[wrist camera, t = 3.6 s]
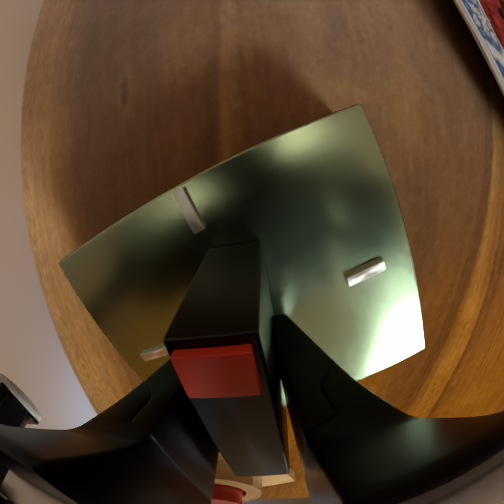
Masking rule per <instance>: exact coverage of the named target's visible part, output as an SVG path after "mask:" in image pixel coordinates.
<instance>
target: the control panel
mask: <svg viewBox="0 0 504 504" xmlns="http://www.w3.org/2000/svg"><path fill="white" fill-rule="evenodd" d="M254 241H260V242H261V244H262V250H263V256H264V262H265V267H266V273H267V279H268V285H269V291H270V296H271V302H272V308H273V314H274V315H279V314H286V315H287V316H288V317H289V318H290V319H291V320H292V321H293V322H294V323H295V324H296V325H297V326H298V327H299V328H300V329H301V330H303V331H304V332H305V333H306V334H307V335H308V336H309V337H310V338H311V339H312V340H313V341H314V342H315V343H316V344H317V345H318V346H319V347H320V348H321V349H322V350H323V351H324V352H325V353H326V354H327V355H328V356H330V357H331V358H332V359H333V360H334V361H335V362H336V364H338V365H339V366H340V367H341V368H342V369H343V370H344V371H345V372H347V373H348V374H349V375H350V376H351V377H352V378H354V379H355V380H356V381H358V380H360V379H363V378H365V377H367V376H370V375H372V374H374V373H376V372H379V371H381V370H383V369H385V368H387V367H389V366H392V365H394V364H396V363H398V362H400V361H402V360H404V359H406V358H408V357H410V356H412V355H413V354H415V353H417V352H419V351H421V350H423V349H424V348H425V337H424V327H423V318H422V310H421V303H420V296H419V289H418V283H417V278H416V272H415V267H414V262H413V257H412V253H411V248H410V244H409V240H408V235H407V231H406V227H405V224H404V220H403V216H402V213H401V209H400V206H399V202H398V199H397V196H396V192H395V189H394V186H393V183H392V180H391V177H390V174H389V171H388V168H387V165H386V163H385V160H384V157H383V155H382V152H381V149H380V147H379V144H378V142H377V139H376V137H375V134H374V132H373V130H372V127H371V125H370V123H369V120H368V118H367V116H366V114H365V111H364V109H363V107H362V105H361V104H356V105H353V106H350V107H347V108H345V109H342V110H339V111H336V112H333V113H331V114H328V115H325V116H323V117H320V118H317V119H315V120H312V121H310V122H307V123H305V124H302V125H300V126H297V127H295V128H293V129H290V130H288V131H285V132H283V133H281V134H278V135H276V136H274V137H272V138H269V139H267V140H265V141H263V142H260V143H258V144H256V145H254V146H252V147H250V148H248V149H245V150H243V151H241V152H239V153H237V154H235V155H233V156H231V157H229V158H227V159H225V160H223V161H221V162H219V163H217V164H215V165H213V166H211V167H209V168H207V169H205V170H203V171H202V172H200V173H198V174H196V175H194V176H192V177H190V178H188V179H187V180H185V181H183V182H181V183H179V184H178V185H176V186H174V187H172V188H171V189H169V190H167V191H165V192H164V193H162V194H160V195H158V196H157V197H155V198H153V199H152V200H150V201H148V202H147V203H145V204H143V205H142V206H140V207H139V208H137V209H135V210H134V211H132V212H130V213H129V214H127V215H126V216H124V217H123V218H121V219H119V220H118V221H116V222H115V223H113V224H112V225H110V226H109V227H107V228H106V229H104V230H103V231H101V232H100V233H98V234H97V235H95V236H94V237H93V238H91V239H90V240H88V241H87V242H85V243H84V244H83V245H81V246H80V247H78V248H77V249H76V250H74V251H73V252H72V253H70V254H69V255H67V256H66V257H65V258H63V259H62V260H61V261H60V262H59V265H60V266H61V268H62V270H63V272H64V273H65V275H66V277H67V279H68V280H69V282H70V284H71V285H72V287H73V288H74V290H75V292H76V293H77V295H78V296H79V298H80V299H81V301H82V303H83V304H84V306H85V307H86V309H87V310H88V312H89V313H90V314H91V316H92V317H93V319H94V320H95V322H96V323H97V324H98V326H99V327H100V329H101V330H102V331H103V333H104V334H105V335H106V337H107V338H108V339H109V341H110V342H111V343H112V345H113V346H114V347H115V348H116V350H117V351H118V352H119V353H120V355H121V356H122V357H123V358H124V360H125V361H126V362H127V363H128V364H129V366H130V367H131V368H132V369H133V370H134V371H135V373H136V374H137V375H138V376H139V377H140V378H141V379H142V381H145V380H146V379H147V378H148V377H149V376H150V375H152V374H153V373H154V372H155V371H156V370H158V369H159V368H160V367H161V366H162V365H163V364H165V363H166V362H167V361H168V360H169V359H170V356H169V354H168V352H167V349H166V347H165V345H164V342H163V338H164V336H165V334H166V332H167V330H168V328H169V326H170V324H171V322H172V320H173V318H174V316H175V314H176V312H177V310H178V308H179V306H180V304H181V302H182V300H183V298H184V296H185V294H186V292H187V290H188V288H189V286H190V284H191V282H192V280H193V278H194V277H195V275H196V273H197V271H198V269H199V267H200V265H201V263H202V261H203V259H204V258H205V256H206V254H207V252H208V250H209V249H211V248H217V247H223V246H229V245H235V244H241V243H248V242H254ZM146 381H147V380H146ZM285 402H286V400H285ZM286 406H287V404H286Z"/></svg>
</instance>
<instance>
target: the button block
mask: <svg viewBox="0 0 504 504" xmlns="http://www.w3.org/2000/svg"><path fill="white" fill-rule="evenodd" d="M293 481H295V472H294V470H293V469H292V468H291V467H290V473H289V474H283V475H270V476H248V477H236V476H234V474H233V473H232V471H231V470H230V468H229V466H228V465H227V463H226V462H225V460H224V459H223V457H222V455H221V454H220V452H219V455H218V461H217V468H216V474H215V481H214V484H221V485H229V486H233V487H237V488H240V489H242V490H243V496H242V502H244V501H250V500H253V499H256V498H259V497H260V495H261V492H262V486H269V485H276V484H282V483H287V482H293Z"/></svg>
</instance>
